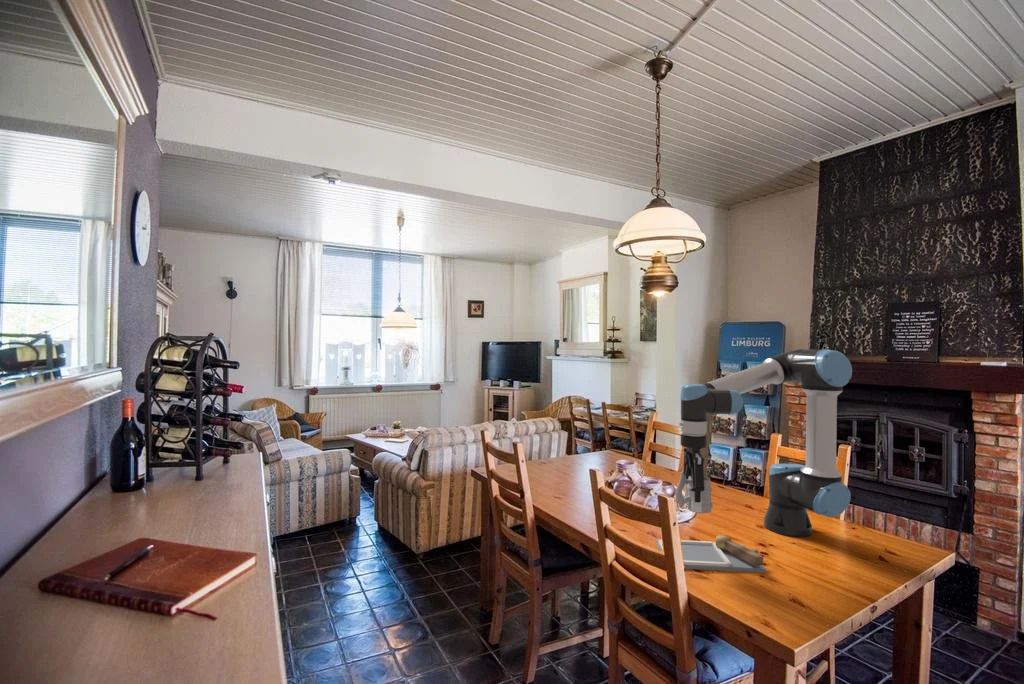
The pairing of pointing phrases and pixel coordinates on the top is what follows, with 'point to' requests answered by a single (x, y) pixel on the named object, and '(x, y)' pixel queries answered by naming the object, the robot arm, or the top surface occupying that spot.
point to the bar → (739, 550)
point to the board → (713, 557)
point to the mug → (688, 500)
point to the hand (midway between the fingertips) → (692, 507)
